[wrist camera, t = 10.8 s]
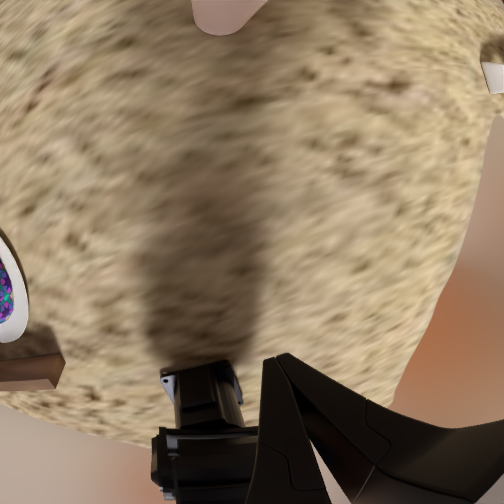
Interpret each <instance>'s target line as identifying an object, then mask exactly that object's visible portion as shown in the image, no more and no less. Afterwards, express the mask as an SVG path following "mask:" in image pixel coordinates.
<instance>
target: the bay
mask: <svg viewBox="0 0 504 504" xmlns="http://www.w3.org/2000/svg"><path fill="white" fill-rule="evenodd" d="M64 366H65V361H64V360H63V358H62V357H61V355H60V354H59V353H57V354H51V355H45V356H38V357H31V358H24V359H16V360H8V361H0V391H32V390H49V389H56V387H57V384H58V381H59V379H60V376H61V373H62V371H63V368H64Z"/></svg>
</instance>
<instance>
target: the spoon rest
mask: <svg viewBox="0 0 504 504" xmlns="http://www.w3.org/2000/svg"><path fill="white" fill-rule="evenodd" d="M481 65H482V68H483V71H484V75H485V78H486V81H487V85H488V88H489V91H490V93H491V94H497V93H503V92H504V64H501V63H494V62H482V63H481Z"/></svg>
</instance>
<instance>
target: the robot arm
mask: <svg viewBox="0 0 504 504" xmlns="http://www.w3.org/2000/svg"><path fill="white" fill-rule="evenodd" d="M224 365H227V366H224ZM164 379H167V380H164ZM160 382H161V384H162V385H163V387H164V389H165V391H166V392H167V394H168V396H169V397H170V399H171V400H172V402H173V404H174V410H175V424H176V429H171V428H166V427H159V435H157V436H156V437H154V438H152V462H151V479H152V481H153V482H154V483H155V484H157V485H158V486H159V487H160V491H162V492H163V494H164V500H176V504H332V503H331V500H330V498H329V495H328V493H327V490H326V487H325V484H324V481H323V478H322V475H321V472H320V469H319V466H318V463H317V460H316V457H315V454H314V451H313V448H312V445H311V442H312V443H313V445H314V447H315V448H316V450H317V451H318V453H319V455H320V456H321V458H322V459H323V461H324V463H325V464H326V466H327V467H328V469H329V470H330V472H331V473H332V475H333V477H334V478H335V480H336V481H337V483H338V484H339V486H340V487H341V489H342V490H343V492H344V493H345V495H346V496H347V498H348V499H349V501H350V502H351V504H504V419H503V420H499V421H495V422H490V423H486V424H480V425H476V426H469V427H463V428H443V427H438V426H435V425H431V424H428V423H425V422H422V421H419V420H416V419H413V418H410V417H407V416H404V415H402V414H399V413H396V412H394V411H391V410H389V409H387V408H385V407H383V406H381V405H379V404H377V403H375V402H373V401H371V400H369V399H367V400H366V398H365V397H363V396H362V395H360V394H358V393H356V392H354V391H352V390H351V389H349V388H347V387H345V386H344V385H342V384H340V383H338V382H336V381H335V380H333V379H331V378H330V377H328V376H326V375H324V374H323V373H321V372H319V371H318V370H316V369H314V368H313V367H311V366H309V365H308V364H306V363H304V362H303V361H301V360H299V359H298V358H296V357H294V356H293V355H291V354H290V353H283V354H280V355H277V356H276V358H275V357H271V358H268V359H265V360H264V361H263V370H262V385H261V399H260V413H259V426H252V427H245V423H244V420H243V417H242V414H241V410H240V407H239V406H241V405H242V404H243V403H244V402H243V399H242V396H241V393H240V390H239V387H238V384H237V381H236V379H235V376H234V373H233V370H232V367H231V364H230V362H229V361H228V360H222V361H218V362H214V363H211V364H207V365H203V366H198V367H194V368H190V369H186V370H181V371H177V372H172V373H167V374H163V375H161V376H160ZM310 440H311V442H310Z"/></svg>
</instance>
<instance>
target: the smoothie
mask: <svg viewBox="0 0 504 504" xmlns="http://www.w3.org/2000/svg"><path fill="white" fill-rule="evenodd" d="M267 1H268V0H191V2H192V9H193V16H194V21H195V23H196V25H197V26H198V27H199V28H200V29H201V30H202V31H204V32H206V33H208V34H211V35H218V36H223V35H229V34H232V33H235V32H237V31H238V30H239V29H241V28H242V27H243V25H244V24H245V23H246V22H247V21H248V20H249V19H250V18H251V17H252V16H253V15H254V14H255V13H256V12H257V11H258V10H259V9H260V8H261V7H262V6H263V5H264V4H265V3H266V2H267Z"/></svg>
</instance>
